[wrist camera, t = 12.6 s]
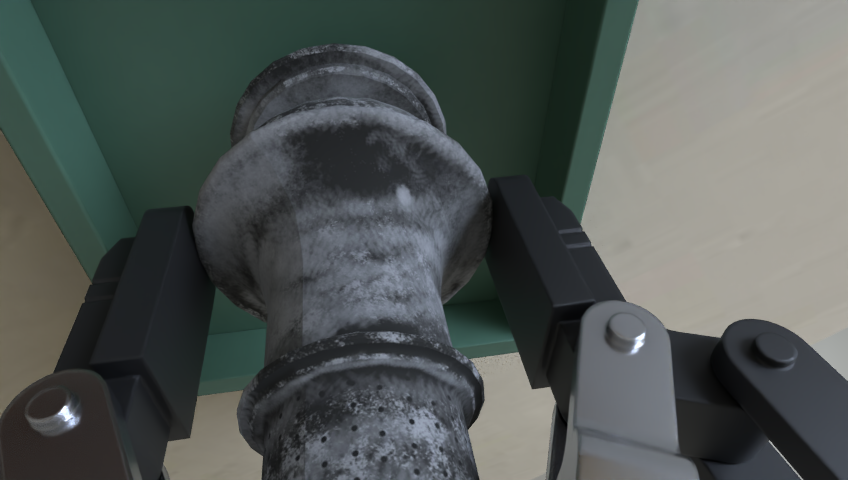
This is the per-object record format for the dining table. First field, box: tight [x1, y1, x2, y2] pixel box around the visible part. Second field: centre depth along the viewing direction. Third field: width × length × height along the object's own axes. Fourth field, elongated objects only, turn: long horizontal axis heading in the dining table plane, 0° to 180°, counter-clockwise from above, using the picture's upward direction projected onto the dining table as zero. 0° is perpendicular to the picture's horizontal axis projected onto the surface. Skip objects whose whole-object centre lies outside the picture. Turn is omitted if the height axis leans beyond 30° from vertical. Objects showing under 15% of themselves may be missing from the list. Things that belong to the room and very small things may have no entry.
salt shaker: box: [192, 43, 493, 480], centre depth 9 cm, size 6×6×12 cm
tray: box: [0, 0, 639, 396], centre depth 14 cm, size 18×14×3 cm
